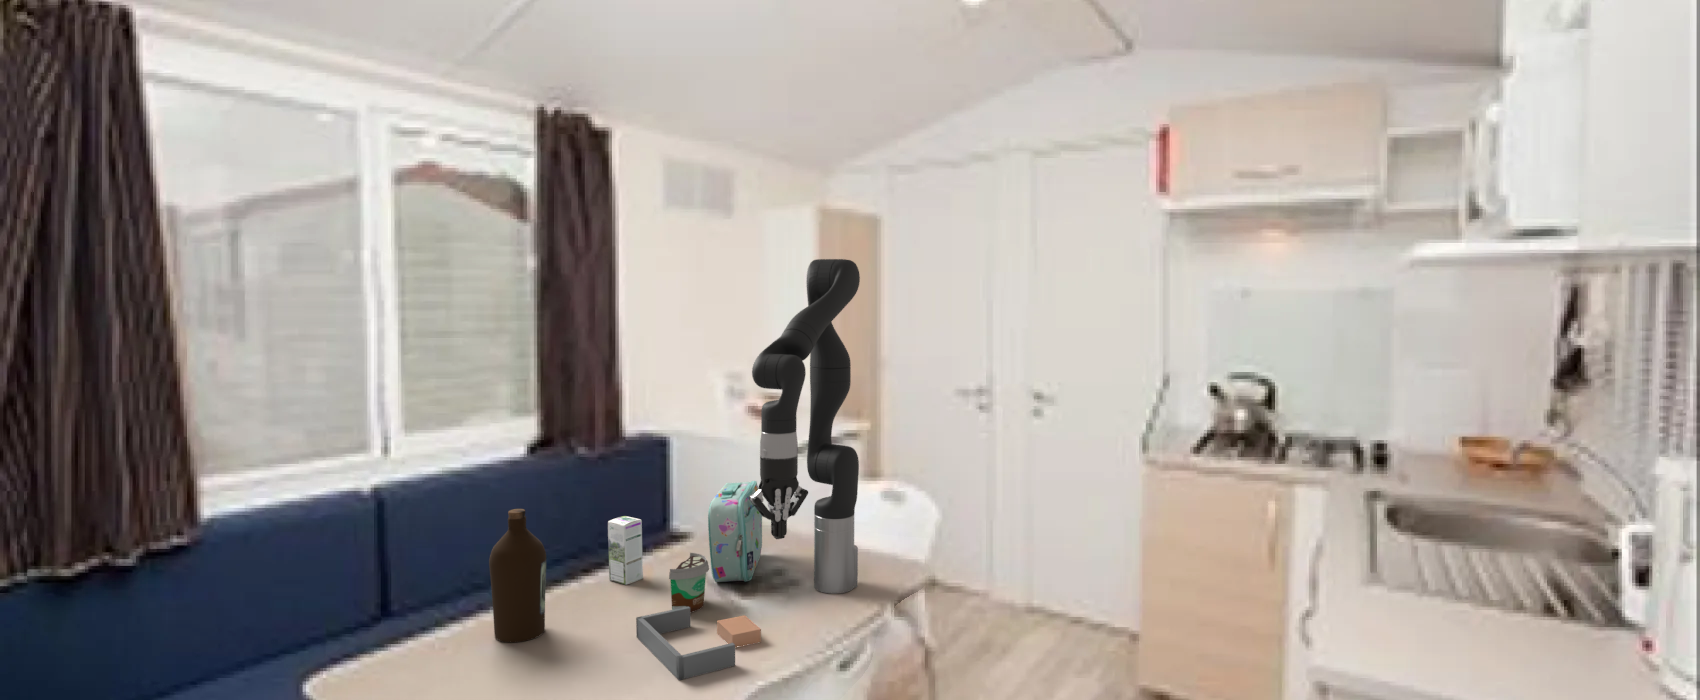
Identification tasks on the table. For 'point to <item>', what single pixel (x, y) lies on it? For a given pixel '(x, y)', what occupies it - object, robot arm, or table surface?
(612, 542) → the syrup box
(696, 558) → the food container
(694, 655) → the box
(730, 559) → the lunch box
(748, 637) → the tile
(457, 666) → the table surface
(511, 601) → the olive oil
